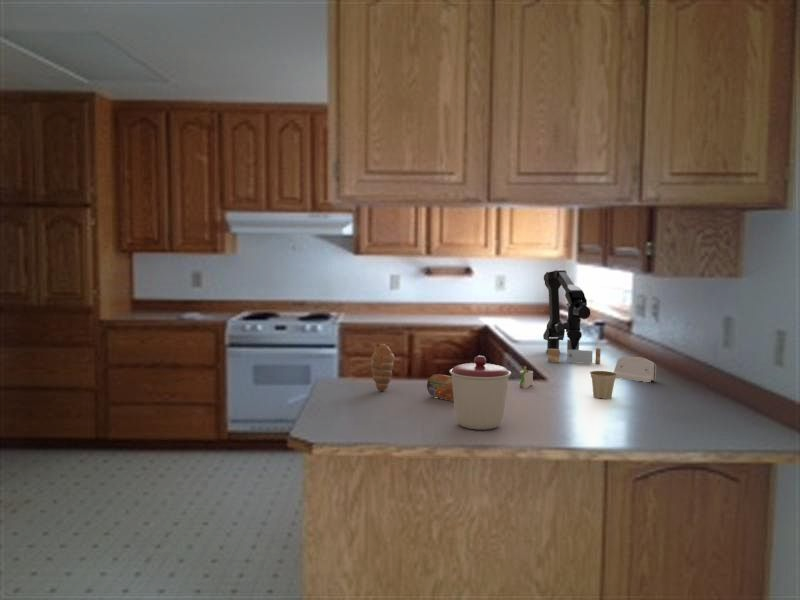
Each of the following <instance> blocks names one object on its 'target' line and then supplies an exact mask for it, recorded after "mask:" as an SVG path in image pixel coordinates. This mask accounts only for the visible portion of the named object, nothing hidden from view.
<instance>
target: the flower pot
mask: <svg viewBox="0 0 800 600" xmlns="http://www.w3.org/2000/svg"><path fill="white" fill-rule="evenodd" d="M589 374H590V378H591V384H592V392H593V394H592V396H593V397H594V398H596V399H604V400H608V399H609V398H610V399H611V398H612V396H613V392H614V385H615V381H616V379H617V378H616V376H617V373H614V371H608V370H592V371H589Z"/></svg>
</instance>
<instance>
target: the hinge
mask: <svg viewBox="0 0 800 600" xmlns="http://www.w3.org/2000/svg"><path fill="white" fill-rule="evenodd" d="M613 372H614V373H617V376H616V377H617V378H616V379H619V378H622V379H621V380H626V379H628V381H632V380H635V381H634V382H639V381H643V382H642V383H646V382H650V383H651V382H656V379H657V377H656V375H657V365H656V363H654V362H653V361H651V360H649V359H647V358H644V357H640V356H624V357H619V358H618V359H617V360H616V364H615V367H614V369H613Z"/></svg>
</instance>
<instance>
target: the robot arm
mask: <svg viewBox="0 0 800 600" xmlns="http://www.w3.org/2000/svg"><path fill="white" fill-rule="evenodd" d="M543 281H544V285H545V287H546V289H547V291H548V305H549V306H548V307H549V320H548V322H547V323H546V329H545V331H544V333H543V334H542V335H543V337H542V338H543V340H545V341H547V342H546V343H547V344H546V350H545V351H546V352H548V349H559V354H560V353H561V350H560V341H564V337H565V333H566V337H567V338H568V340H571V347H572V350H575V349H576V347H577V345H578V342H579V343H580V340H581V338H582V336H583V333H582V331H581V321H582V320H581V319H583V320H586V319H588V318H589V317H590V316H591V313H592V312H591V309H590V308H589V307H588V303H587V302H588V300H587V298H586V296H585V292H584V290H582V288H581V287H579V286H577V285H575V284H574V282H573V281H572V280H571V278H570V276H569V275H568V273H567V270H565V269H555V270H553V271H547V272H546V273H544V275H543ZM561 287H562V289H563V290H564V292H565V294H564V296H565V299H566V300H567V303H566V306H567V318H566V320H565V321H562V320H561V315H560V314H561V313H560V311H561V310H560V293H559V292H560V288H561ZM546 352H545V353H546Z"/></svg>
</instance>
